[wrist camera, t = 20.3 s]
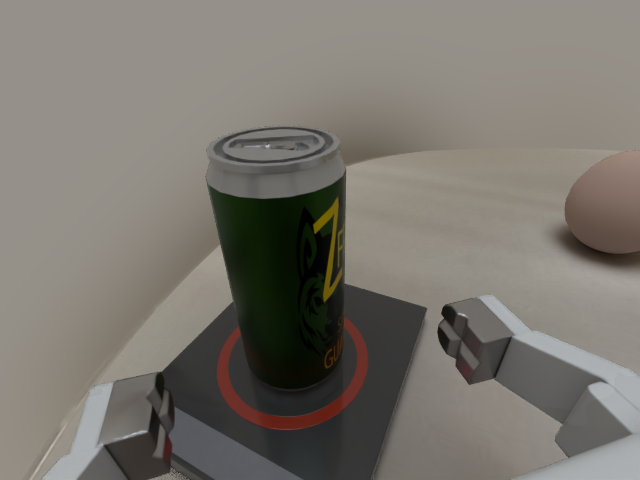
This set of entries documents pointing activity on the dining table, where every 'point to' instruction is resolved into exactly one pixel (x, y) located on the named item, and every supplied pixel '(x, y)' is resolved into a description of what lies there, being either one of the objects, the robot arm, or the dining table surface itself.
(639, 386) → the robot arm
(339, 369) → the hob
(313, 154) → the beer can
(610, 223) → the egg
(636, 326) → the dining table surface
